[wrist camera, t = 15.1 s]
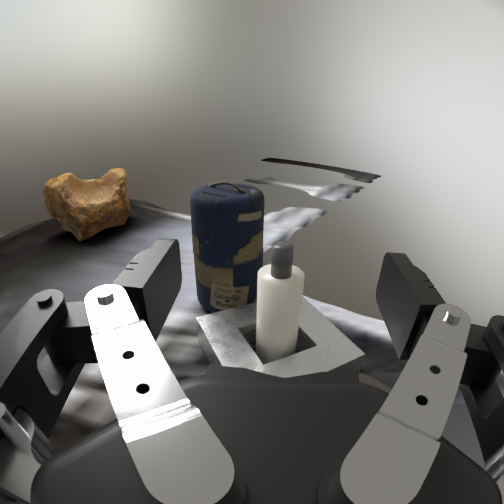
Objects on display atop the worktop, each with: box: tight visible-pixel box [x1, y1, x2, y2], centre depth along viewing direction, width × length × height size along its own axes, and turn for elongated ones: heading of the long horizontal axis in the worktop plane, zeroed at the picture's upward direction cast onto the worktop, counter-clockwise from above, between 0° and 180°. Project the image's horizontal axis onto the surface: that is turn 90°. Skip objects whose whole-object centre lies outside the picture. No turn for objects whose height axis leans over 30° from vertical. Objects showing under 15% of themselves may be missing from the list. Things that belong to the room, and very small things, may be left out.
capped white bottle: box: [256, 241, 304, 365], centre depth 32 cm, size 4×4×15 cm
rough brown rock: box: [43, 168, 131, 241], centre depth 69 cm, size 23×17×15 cm
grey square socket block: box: [196, 296, 365, 378], centre depth 35 cm, size 14×14×4 cm
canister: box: [190, 182, 264, 313], centre depth 43 cm, size 10×10×18 cm
